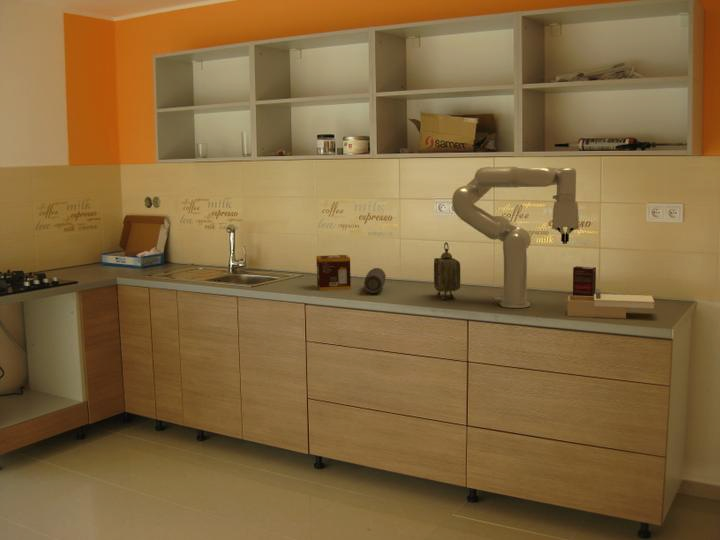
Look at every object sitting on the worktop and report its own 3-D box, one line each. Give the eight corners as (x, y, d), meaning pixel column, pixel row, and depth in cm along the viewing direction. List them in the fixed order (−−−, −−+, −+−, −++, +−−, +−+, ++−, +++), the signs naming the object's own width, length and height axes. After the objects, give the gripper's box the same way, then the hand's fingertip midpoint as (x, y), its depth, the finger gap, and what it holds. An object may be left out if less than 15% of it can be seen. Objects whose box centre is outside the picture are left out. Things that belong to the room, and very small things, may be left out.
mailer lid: (594, 306, 310) (594, 293, 310) (594, 300, 322) (594, 287, 322) (653, 308, 304) (654, 295, 303) (651, 302, 316) (652, 289, 315)
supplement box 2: (595, 304, 337) (596, 267, 334) (592, 306, 333) (593, 268, 330) (575, 302, 341) (576, 265, 339) (571, 304, 338) (572, 267, 335)
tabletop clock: (433, 295, 363) (433, 240, 359) (453, 294, 364) (453, 240, 360) (440, 301, 349) (440, 244, 345) (460, 300, 350) (461, 244, 346)
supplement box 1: (316, 287, 390) (315, 255, 387) (347, 285, 392) (347, 254, 390) (319, 290, 379) (318, 258, 377) (351, 289, 382) (350, 257, 379)
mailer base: (567, 316, 314) (567, 300, 314) (568, 310, 325) (568, 295, 324) (625, 318, 308) (626, 302, 307) (624, 312, 319) (625, 297, 318)
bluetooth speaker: (383, 295, 364) (383, 274, 363) (363, 295, 365) (362, 274, 364) (386, 287, 386) (386, 266, 385) (367, 287, 387) (367, 266, 386)
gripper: (546, 199, 320) (545, 244, 323) (585, 199, 316) (583, 245, 319) (547, 197, 328) (546, 242, 330) (585, 198, 323) (584, 242, 326)
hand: (564, 243), depth 325 cm, fingers closed
